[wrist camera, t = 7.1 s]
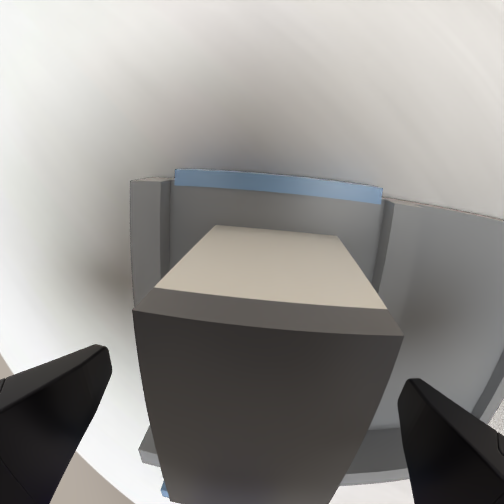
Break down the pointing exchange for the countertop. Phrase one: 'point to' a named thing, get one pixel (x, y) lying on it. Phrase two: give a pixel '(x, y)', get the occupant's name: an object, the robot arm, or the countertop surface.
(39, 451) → the robot arm
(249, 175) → the blue-trimmed grey tray
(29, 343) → the countertop surface
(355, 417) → the beige grey-topped box
